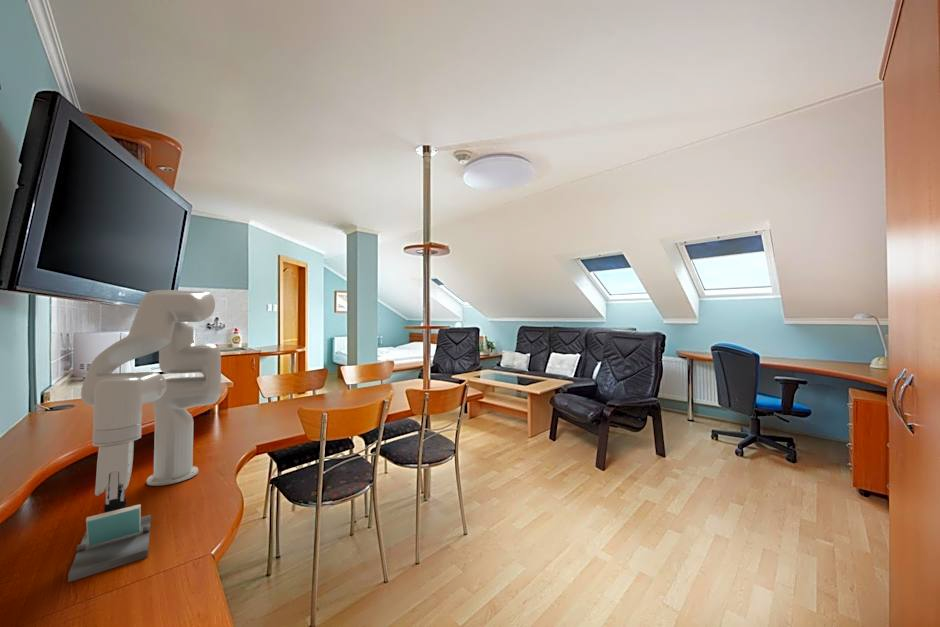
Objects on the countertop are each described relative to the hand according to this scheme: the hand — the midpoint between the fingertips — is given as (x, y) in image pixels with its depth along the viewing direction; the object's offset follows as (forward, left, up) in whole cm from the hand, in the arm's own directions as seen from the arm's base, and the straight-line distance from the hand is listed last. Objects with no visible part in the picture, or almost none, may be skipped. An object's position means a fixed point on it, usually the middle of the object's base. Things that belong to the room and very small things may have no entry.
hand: (115, 519), depth 76 cm
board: (-1, 0, -6) cm, 6 cm away
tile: (+1, 0, 0) cm, 1 cm away
